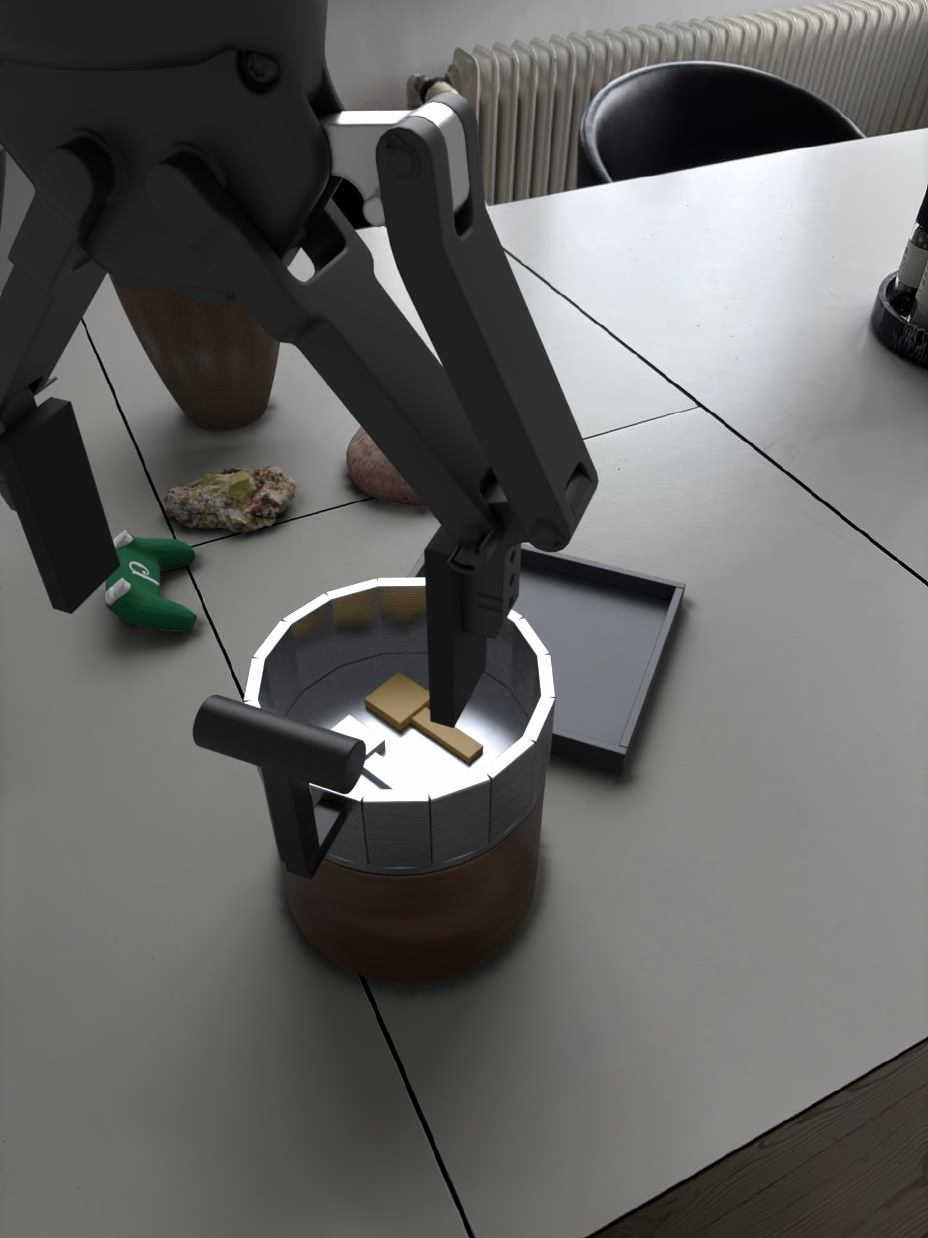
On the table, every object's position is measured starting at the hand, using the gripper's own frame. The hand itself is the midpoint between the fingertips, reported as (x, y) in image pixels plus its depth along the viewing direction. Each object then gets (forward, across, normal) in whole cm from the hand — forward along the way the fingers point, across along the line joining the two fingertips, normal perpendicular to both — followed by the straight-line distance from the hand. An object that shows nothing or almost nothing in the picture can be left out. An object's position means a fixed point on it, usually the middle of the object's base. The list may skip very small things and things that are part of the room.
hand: (262, 638), depth 32 cm
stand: (+27, 0, -10) cm, 29 cm away
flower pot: (+27, +36, -49) cm, 67 cm away
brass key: (+16, 0, -12) cm, 20 cm away
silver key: (+16, +1, -8) cm, 18 cm away
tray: (+27, 0, -30) cm, 40 cm away
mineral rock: (+27, +28, -36) cm, 53 cm away
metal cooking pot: (+17, 0, -8) cm, 19 cm away
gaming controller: (+27, +27, -24) cm, 46 cm away
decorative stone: (+27, +16, -47) cm, 57 cm away
